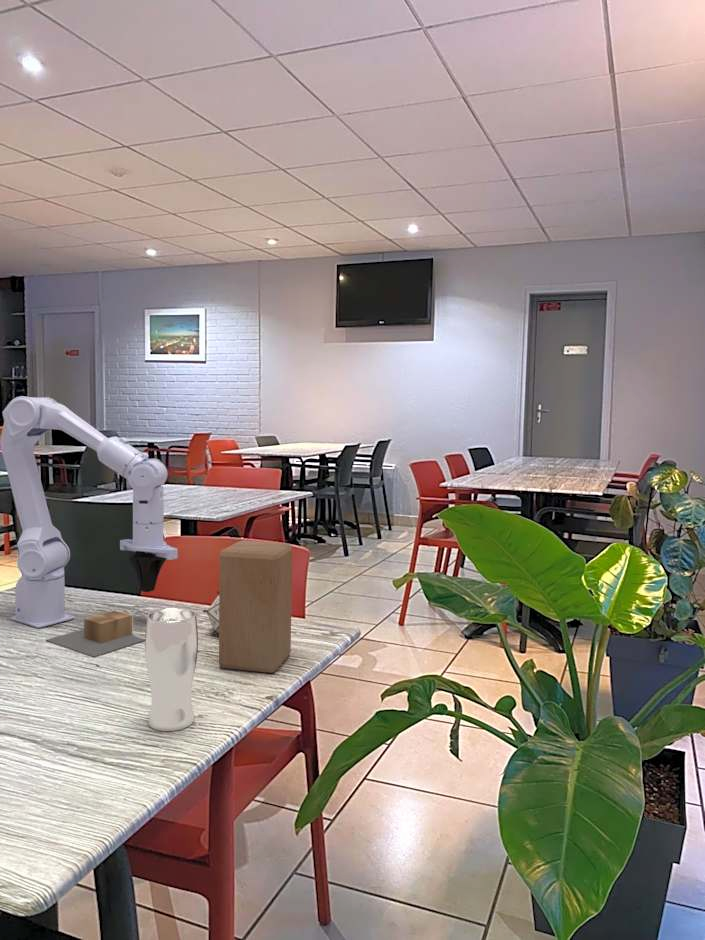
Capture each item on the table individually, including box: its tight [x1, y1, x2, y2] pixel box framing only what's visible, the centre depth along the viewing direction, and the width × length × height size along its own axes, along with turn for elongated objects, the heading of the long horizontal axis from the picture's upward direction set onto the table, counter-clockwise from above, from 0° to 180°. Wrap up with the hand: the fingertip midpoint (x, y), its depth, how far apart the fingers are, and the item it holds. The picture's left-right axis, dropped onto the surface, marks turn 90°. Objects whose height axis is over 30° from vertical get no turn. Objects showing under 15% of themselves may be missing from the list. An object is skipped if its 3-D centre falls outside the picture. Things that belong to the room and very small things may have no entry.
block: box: [218, 539, 293, 674], centre depth 118 cm, size 10×10×20 cm
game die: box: [202, 589, 219, 636], centre depth 133 cm, size 9×8×10 cm
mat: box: [45, 628, 145, 658], centre depth 128 cm, size 14×11×1 cm
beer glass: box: [144, 607, 199, 732], centre depth 95 cm, size 7×7×15 cm
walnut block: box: [83, 609, 134, 643], centre depth 130 cm, size 5×4×7 cm
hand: (148, 590), depth 137 cm, fingers closed
